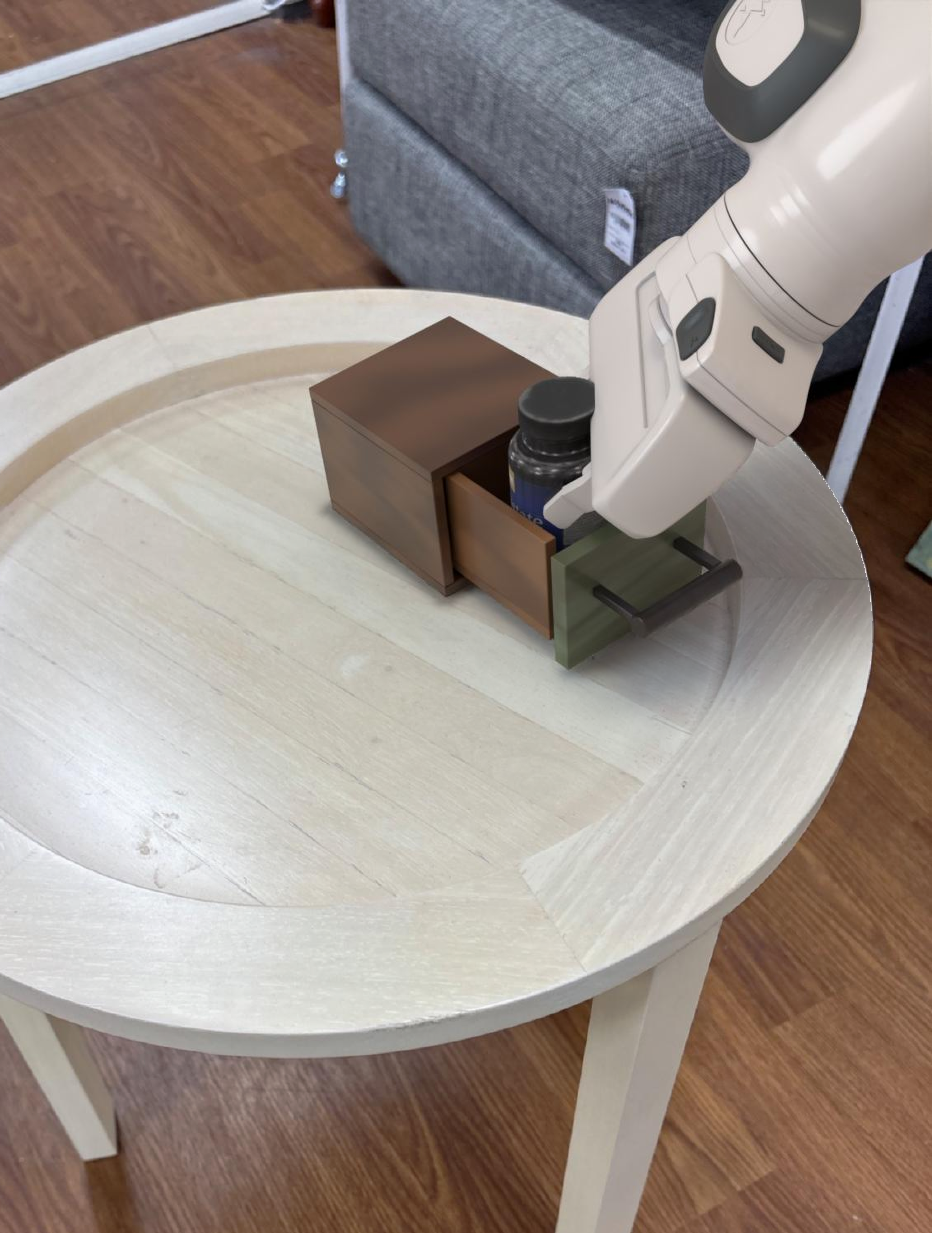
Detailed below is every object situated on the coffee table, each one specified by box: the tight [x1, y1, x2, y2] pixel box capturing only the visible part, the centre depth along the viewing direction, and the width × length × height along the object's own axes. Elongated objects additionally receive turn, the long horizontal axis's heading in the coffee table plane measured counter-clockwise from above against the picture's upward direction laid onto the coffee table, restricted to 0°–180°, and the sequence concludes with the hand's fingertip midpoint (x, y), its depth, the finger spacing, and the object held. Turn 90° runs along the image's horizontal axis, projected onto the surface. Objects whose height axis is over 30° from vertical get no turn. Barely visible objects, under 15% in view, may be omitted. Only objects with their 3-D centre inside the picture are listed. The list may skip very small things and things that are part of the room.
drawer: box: [442, 439, 744, 671], centre depth 77 cm, size 17×10×8 cm, turn 33°
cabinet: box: [308, 315, 560, 597], centre depth 86 cm, size 14×12×10 cm
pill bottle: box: [508, 375, 610, 554], centre depth 76 cm, size 6×6×11 cm
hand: (552, 477), depth 76 cm, fingers closed on pill bottle, 6 cm apart
